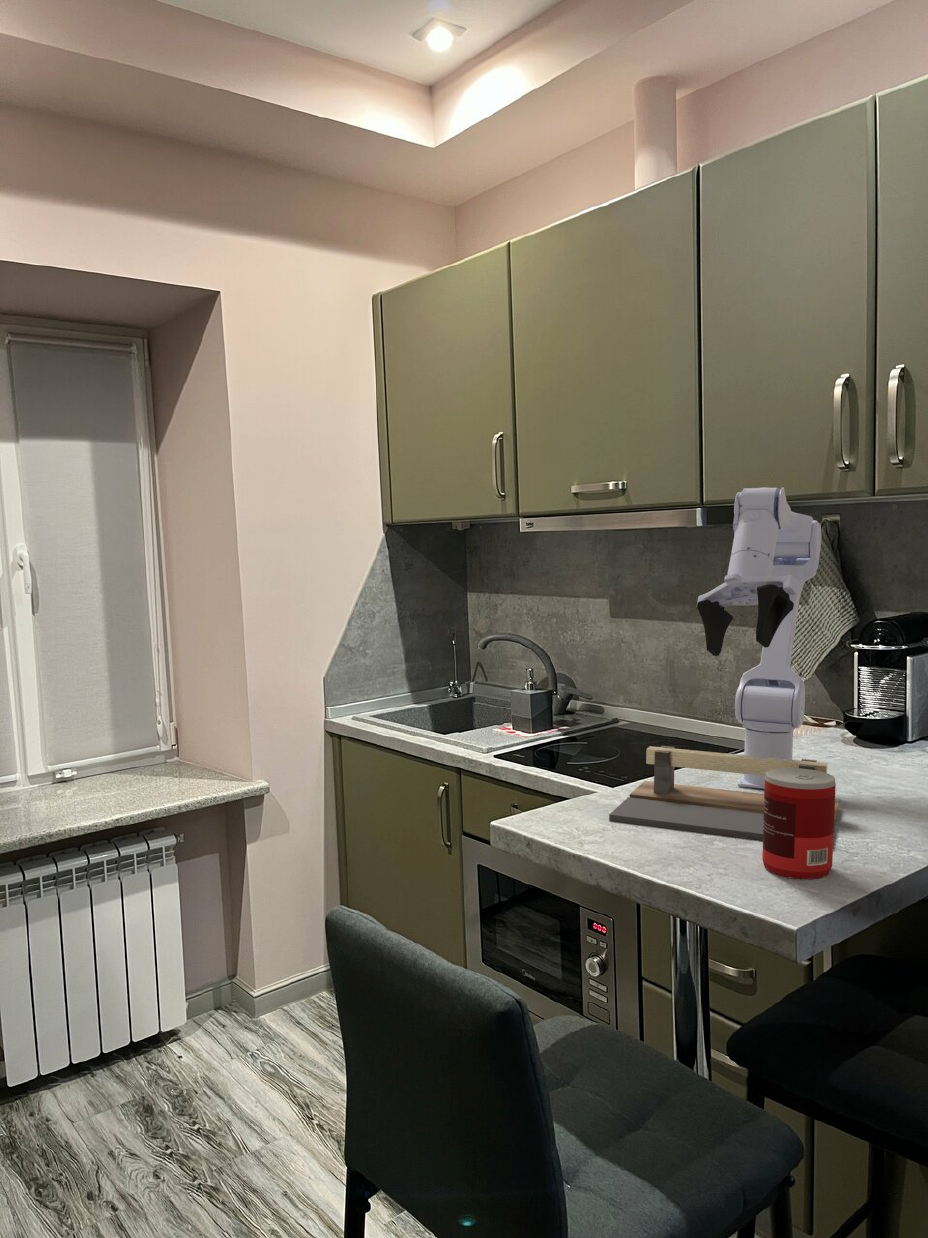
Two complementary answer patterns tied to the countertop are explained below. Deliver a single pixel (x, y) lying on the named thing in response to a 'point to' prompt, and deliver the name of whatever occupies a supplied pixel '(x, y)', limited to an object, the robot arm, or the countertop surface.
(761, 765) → the rail
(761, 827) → the mat
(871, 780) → the countertop surface
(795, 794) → the canned food
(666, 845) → the countertop surface
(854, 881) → the countertop surface
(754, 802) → the rack
